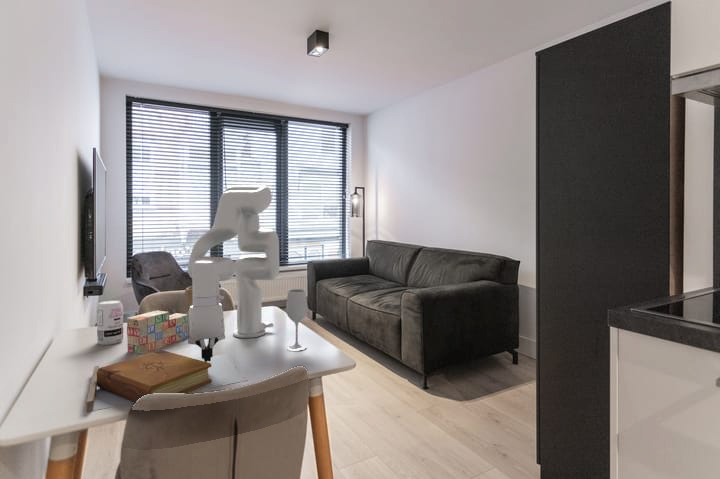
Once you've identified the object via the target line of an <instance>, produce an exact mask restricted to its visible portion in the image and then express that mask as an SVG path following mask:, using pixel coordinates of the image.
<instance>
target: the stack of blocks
mask: <svg viewBox="0 0 720 479" xmlns="http://www.w3.org/2000/svg"><path fill="white" fill-rule="evenodd" d="M188 316H189V315H187V314H186V313H179V312H178V313H177V312H176V313H173V314H170V311H163V310H153V311H148V312H145V313H141V314H138V315H133V316H129V317H127V318H126V336H127V353H132V354H137V355H144V354H147V353H150V352H153V351H156V350H157V349H158V350H159V349H160V348H163V347H166V346H168V345H171V344H174V343H178V342H180V341H182V340H186V339H188V338H189V336H188Z"/></svg>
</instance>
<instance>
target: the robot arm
mask: <svg viewBox="0 0 720 479" xmlns="http://www.w3.org/2000/svg"><path fill="white" fill-rule="evenodd" d="M272 194H273V193H272V191H271V189H270V187H268V186H266V185H258V184H257V185H255V184H254V185H251V184H250V185H246V184H245V185H244V184H241V185H240V184H236V185H235V184H234V185H230V186H228V187H227V188H226V189H225V192H222V194H221V195H220V198H219V202H218V206H217V209H216V214H215V216H214V221H213V225H212V227H211V228H210V229H208V230H207V231H206V232H205V233H203V234H202V235H201V236H200V237H199V238H198V240H196V242H195V243H194V245H193V247H192V249H191V253H190V254H189V255H190V256H189V259H188V263H187V264H188V265H187V273H188V275H189V277H190V278H191V280H192V285H191V286H192V287H193V305H192V306H190V305H189V309H188V311H189V315H188V336H189V338H187V344H189V345H196V346H198V347H199V348H200V349H201V351H200V352H201V355H200V356H201V358H202V359H204V361H205V362H207V361H211V357H213V356H214V355H213V350H214V347H215V345H216V344H217V343H218V342H220V341H223V340H225V339H226V335H225V330H226V329H225V328H226V327H225V317H224V309H223V306H222V303H221V301H224V300H225V295H221V294H220V282H224V281H229V280H231V279H232V277H233V276H234V275H235V278H236V279H235V280H236V301H237V302H236V309H237V310H236V329H234V330H233V333H232V335H233V336H234V337H236V338H240V339H251V338H253V339H254V338H259V337H261V336H263V335H265V334H266V329H267V328H274V322H273V321H272V322H271V321H270V322H269V321H266V322H264V321H263V320H262V316H263V315H262V314H263V313H262V310H263V309H262V304H263V303H262V293H263V292H262V288H261V285H260V284H259V283H258V281H273V280H276V279H277V278H278V277H279V274H280V240H279V235H278V233H277V231H276V230H274V229H270V228H269V229H268V228H267V229H265V228H261V227H260V214H262V213H263V212H264V211H265V210H266V209H268V208H269V207H270V205H271V204H272V197H273V195H272ZM236 237H237V245H238V249H239V251H240V252H242V253H245V254H246V253H250V254H251V253H253V254H264V255H265V256H263V255H262V256H261V255H259V256H258V255H243V256H239V257H238V258H236V260H235V261H234V259H232V258H230V257H226V256H225V257H224V256H206V254H207V253H208V251H210V250H211V249H213V247H215V246H217V245H219V244H222V243H224V242H227V241H229V240H232V239H234V238H236ZM205 340H208V343H207V344H206V341H205Z"/></svg>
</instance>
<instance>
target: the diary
mask: <svg viewBox="0 0 720 479" xmlns="http://www.w3.org/2000/svg"><path fill="white" fill-rule="evenodd" d="M209 367H211V363H208V362H204V361H200V360H197V359H196V358H192V357H189V356H185V355H182V354H178V353H175V352H171V351H167V350H164V349H158V350H154V351H150V352H147V353H144V354H140V355H139V356H136V357H135V356H134V357H131V358H128V359H125V360H121V361H119V362H115V363H112V364H108V365H106V366H102V367H99V370H98V371H97V386H98V387H100V388H102V389H104V390H107V391H109V392H112V393H114V394H117V395H119V396H122V397H124V398H127V399H129V400H132V401H134V402H136V401H137V400H138V399H139V398H141V397H142V396H144V395H147V394H153V393H187V394H188V393H191V391H192V392H194V391H193V390H196V389H198V388H200V387H203V386H205V385H207V384H210V383H212V381H211V379H208V368H209ZM136 403H137V402H136Z"/></svg>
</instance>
